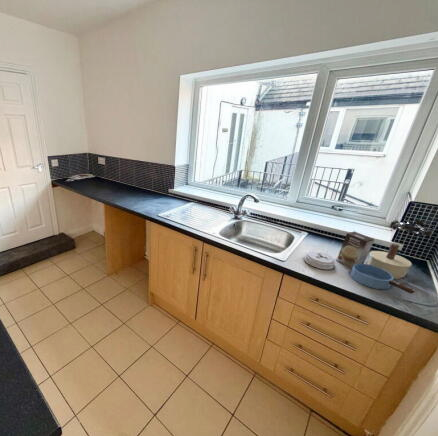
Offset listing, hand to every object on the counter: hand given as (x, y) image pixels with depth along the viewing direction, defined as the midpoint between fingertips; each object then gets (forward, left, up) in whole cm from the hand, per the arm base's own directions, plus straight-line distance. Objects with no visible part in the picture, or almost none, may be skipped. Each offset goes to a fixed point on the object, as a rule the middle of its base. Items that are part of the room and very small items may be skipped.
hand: (406, 230), depth 116 cm
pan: (-8, +27, -19) cm, 34 cm away
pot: (-2, +11, -19) cm, 22 cm away
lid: (+14, +35, -19) cm, 42 cm away
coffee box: (+8, +21, -19) cm, 29 cm away
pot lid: (-2, +11, -12) cm, 17 cm away
